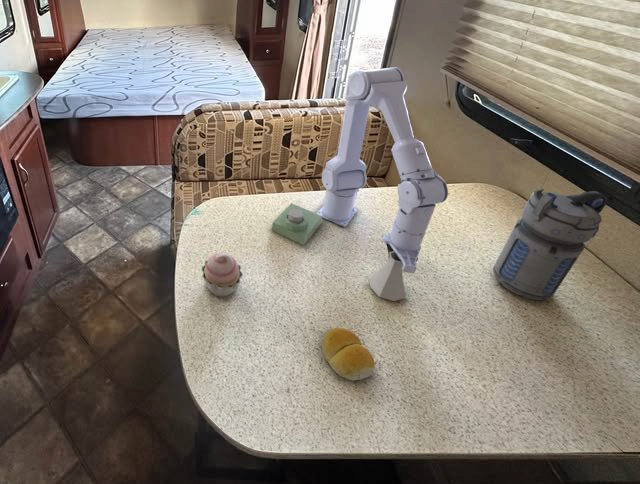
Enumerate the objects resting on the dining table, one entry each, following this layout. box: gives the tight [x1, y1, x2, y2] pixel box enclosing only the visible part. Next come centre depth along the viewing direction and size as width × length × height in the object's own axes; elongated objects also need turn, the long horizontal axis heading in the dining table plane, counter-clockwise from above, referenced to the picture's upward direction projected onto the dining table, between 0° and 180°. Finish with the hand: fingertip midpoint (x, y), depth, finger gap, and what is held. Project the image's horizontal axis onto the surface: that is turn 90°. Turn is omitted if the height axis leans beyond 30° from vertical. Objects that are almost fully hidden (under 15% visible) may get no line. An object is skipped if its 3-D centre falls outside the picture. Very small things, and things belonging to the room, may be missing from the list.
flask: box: [368, 251, 407, 302], centre depth 80 cm, size 7×7×10 cm
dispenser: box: [271, 202, 323, 246], centre depth 101 cm, size 11×9×4 cm
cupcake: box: [201, 252, 244, 298], centre depth 83 cm, size 9×9×10 cm
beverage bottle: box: [492, 188, 609, 301], centre depth 77 cm, size 10×13×25 cm
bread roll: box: [321, 327, 376, 382], centre depth 69 cm, size 8×9×4 cm
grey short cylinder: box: [288, 209, 303, 223], centre depth 98 cm, size 4×4×2 cm
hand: (393, 271), depth 84 cm, fingers closed, pressing on flask
